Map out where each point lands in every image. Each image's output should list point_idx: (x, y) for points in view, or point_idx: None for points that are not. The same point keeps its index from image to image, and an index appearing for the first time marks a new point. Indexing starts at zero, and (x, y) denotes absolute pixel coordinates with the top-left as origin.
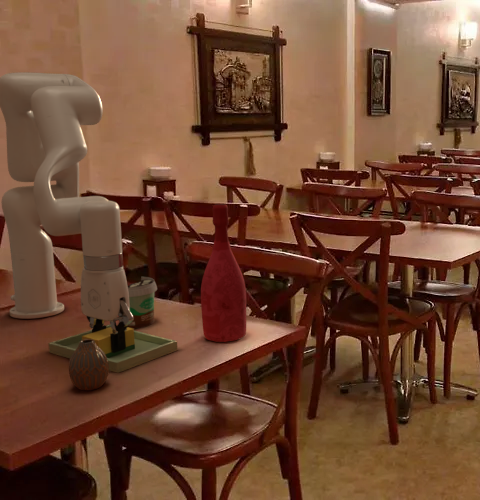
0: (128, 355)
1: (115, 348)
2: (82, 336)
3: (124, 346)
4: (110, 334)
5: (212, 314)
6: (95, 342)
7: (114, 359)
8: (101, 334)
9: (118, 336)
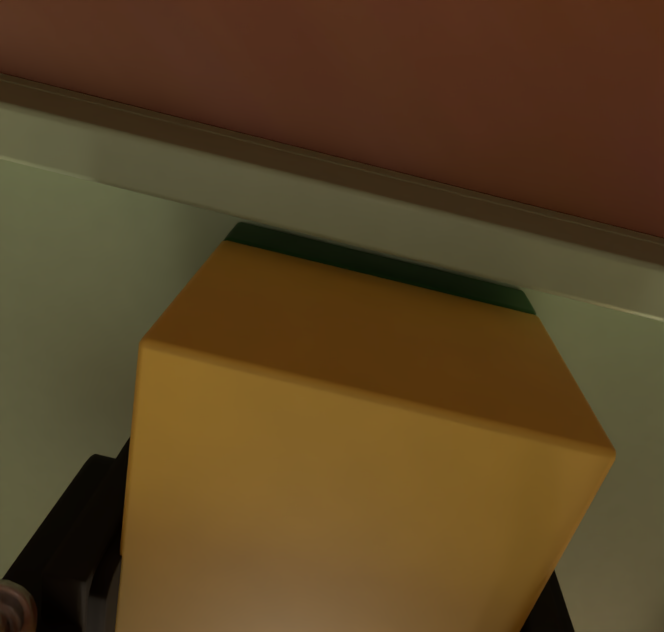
0: (95, 443)
1: None
2: (604, 447)
3: None
4: (84, 572)
5: None
6: (236, 333)
7: (130, 317)
8: (319, 585)
9: (9, 574)
